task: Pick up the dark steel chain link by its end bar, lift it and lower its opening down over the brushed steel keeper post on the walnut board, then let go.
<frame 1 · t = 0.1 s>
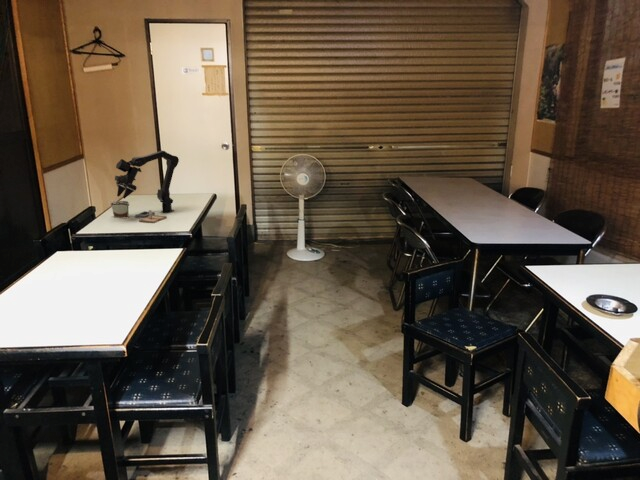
hand: (120, 197, 320), 15 cm above the table, tool tilted 30°, fingers open, 9 cm apart
food container: (123, 216, 333), on the table
steel link: (145, 216, 333), on the table
keeper board: (153, 219, 323), on the table
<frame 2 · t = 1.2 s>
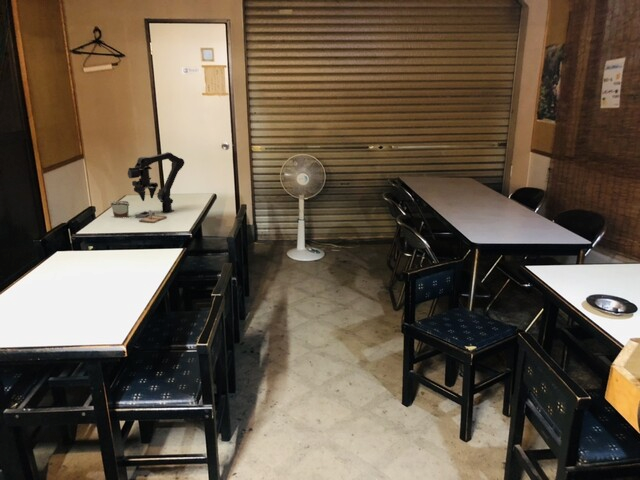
hand: (147, 199, 334), 10 cm above the table, tool pointing down, fingers open, 9 cm apart
nothing on the table moved.
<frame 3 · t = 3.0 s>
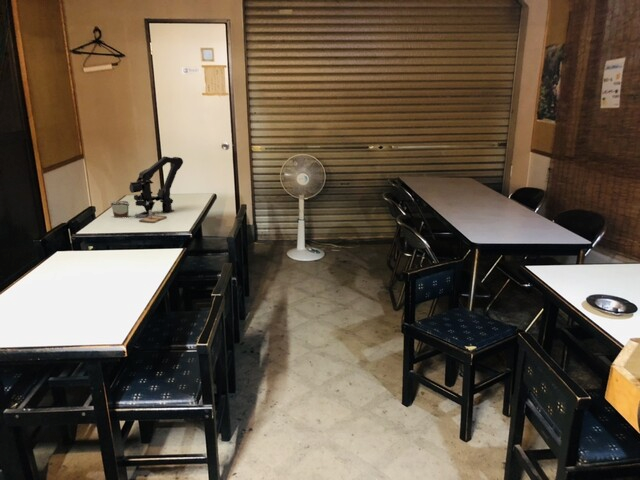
hand: (149, 213, 336), 1 cm above the table, tool pointing down, fingers closed on steel link, 1 cm apart
steel link: (145, 216, 333), on the table, touching gripper
everything else where it was.
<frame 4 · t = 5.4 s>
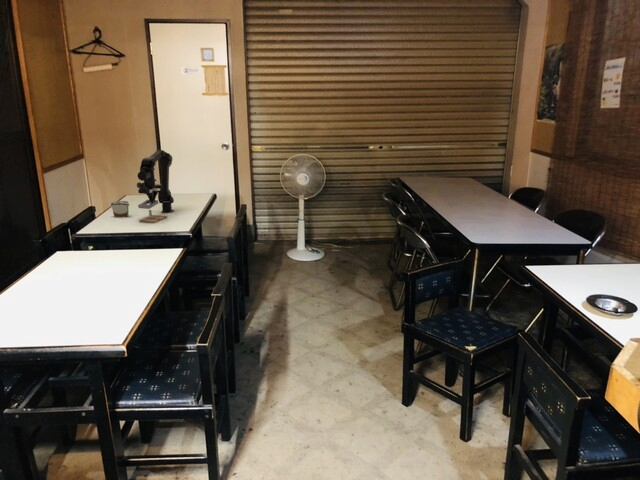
hand: (152, 202, 323), 11 cm above the table, tool pointing down, fingers closed on steel link
steel link: (148, 205, 320), point 10 cm above the table, tilted 9°, touching gripper
everything else where it was.
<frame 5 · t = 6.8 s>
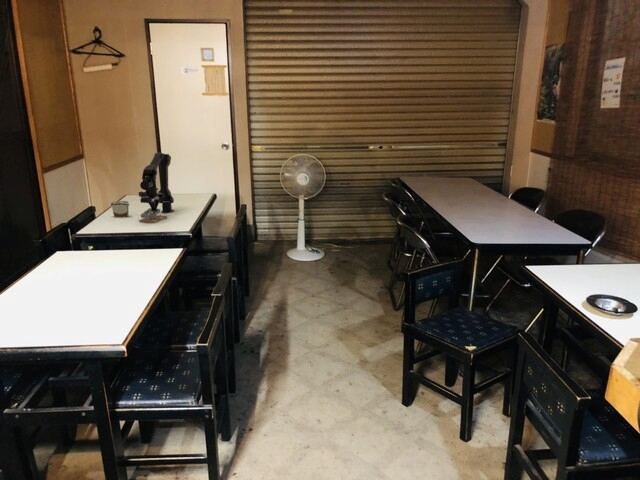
hand: (154, 210, 324), 6 cm above the table, tool pointing down, fingers closed on steel link
steel link: (150, 214, 321), point 4 cm above the table, tilted 12°, touching gripper
everything else where it was.
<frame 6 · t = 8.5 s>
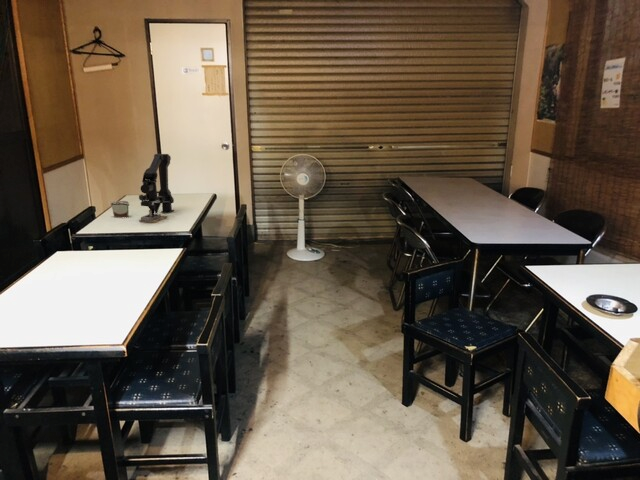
hand: (154, 213, 324), 3 cm above the table, tool pointing down, fingers open, 3 cm apart
steel link: (151, 218, 321), point 1 cm above the table, touching keeper board
everything else where it was.
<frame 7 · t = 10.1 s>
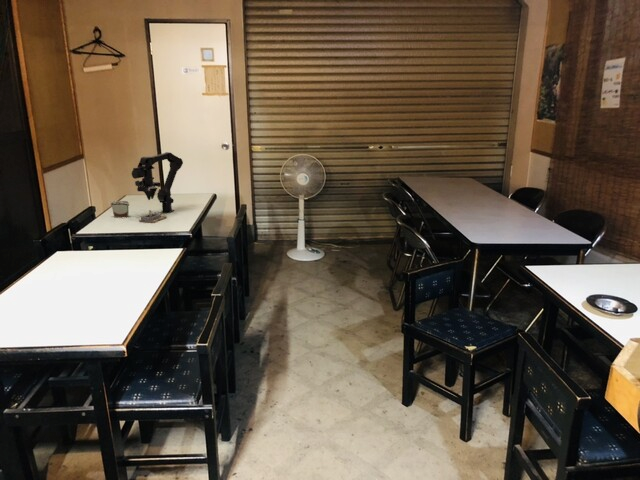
hand: (150, 199, 332), 11 cm above the table, tool pointing down, fingers open, 3 cm apart
nothing on the table moved.
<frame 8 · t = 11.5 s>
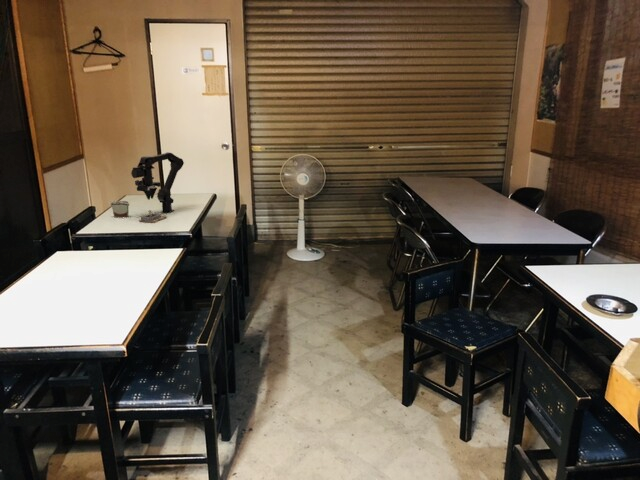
hand: (150, 199, 332), 11 cm above the table, tool pointing down, fingers open, 3 cm apart
nothing on the table moved.
at the end: steel link 0.4 cm from the target spot on the keeper board, point 1.2 cm above the keeper board's base; the gripper is holding nothing; food container moved 0.2 cm from its start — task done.
